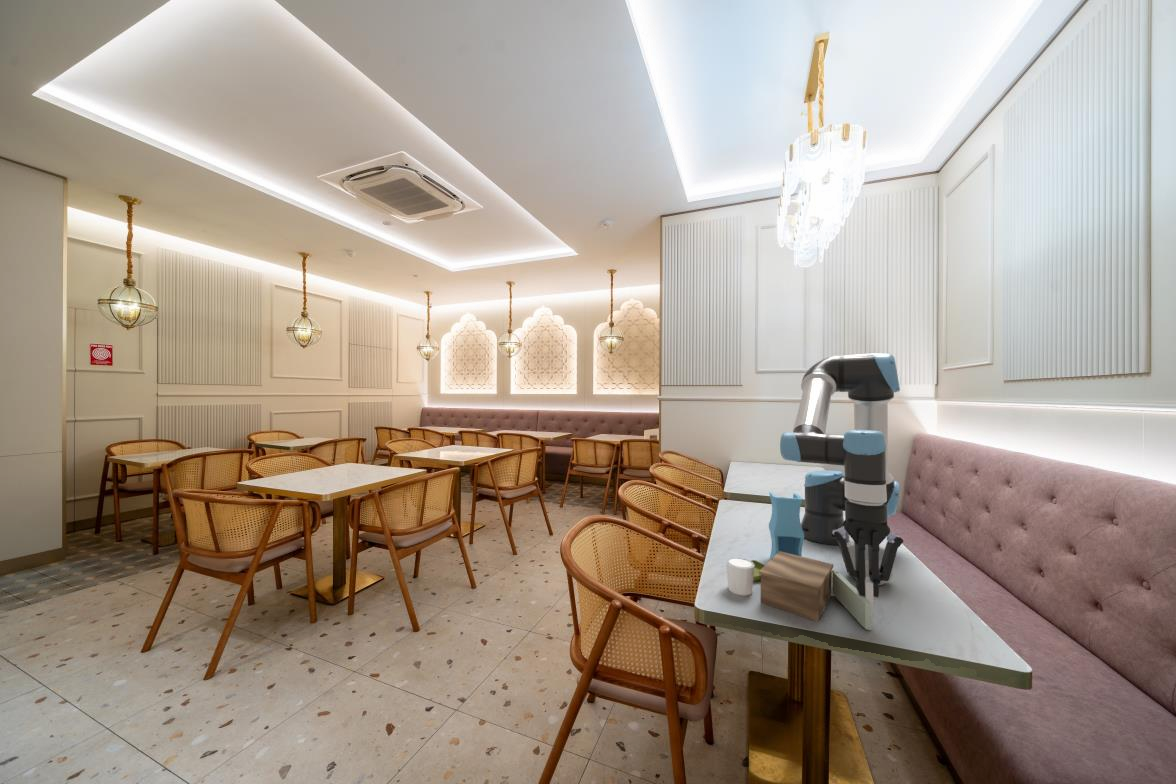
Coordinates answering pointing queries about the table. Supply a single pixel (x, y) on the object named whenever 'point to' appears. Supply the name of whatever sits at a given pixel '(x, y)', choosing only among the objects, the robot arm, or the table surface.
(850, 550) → the grey oval bowl
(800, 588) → the wood grain block
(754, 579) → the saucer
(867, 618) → the door
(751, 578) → the white short cylinder
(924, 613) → the table surface
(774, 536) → the blue tall holder
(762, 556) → the table surface
